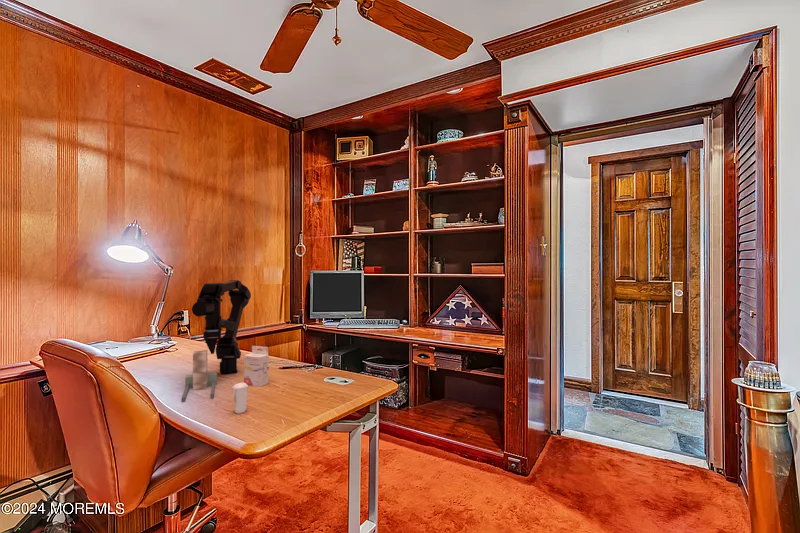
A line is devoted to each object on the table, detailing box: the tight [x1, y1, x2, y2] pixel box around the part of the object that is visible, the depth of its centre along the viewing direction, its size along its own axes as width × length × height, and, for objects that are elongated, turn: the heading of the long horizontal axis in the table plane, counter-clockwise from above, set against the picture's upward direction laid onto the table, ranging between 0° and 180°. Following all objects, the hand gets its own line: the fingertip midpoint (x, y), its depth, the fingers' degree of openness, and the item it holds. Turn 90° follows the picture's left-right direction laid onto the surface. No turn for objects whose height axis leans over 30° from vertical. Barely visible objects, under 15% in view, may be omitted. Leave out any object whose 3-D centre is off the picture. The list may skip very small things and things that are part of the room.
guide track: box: [181, 371, 218, 403], centre depth 147 cm, size 11×22×4 cm, turn 24°
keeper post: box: [192, 349, 209, 391], centre depth 151 cm, size 4×4×14 cm
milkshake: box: [230, 380, 249, 415], centre depth 126 cm, size 4×5×10 cm
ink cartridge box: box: [243, 345, 270, 387], centre depth 156 cm, size 9×5×15 cm, turn 71°
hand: (213, 351), depth 161 cm, fingers open, 9 cm apart
